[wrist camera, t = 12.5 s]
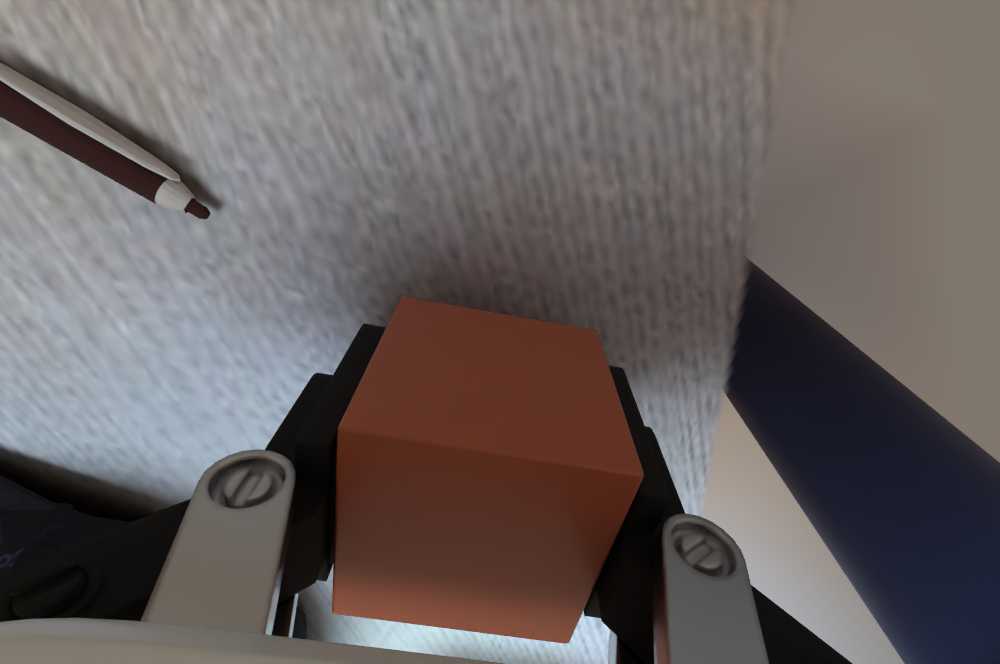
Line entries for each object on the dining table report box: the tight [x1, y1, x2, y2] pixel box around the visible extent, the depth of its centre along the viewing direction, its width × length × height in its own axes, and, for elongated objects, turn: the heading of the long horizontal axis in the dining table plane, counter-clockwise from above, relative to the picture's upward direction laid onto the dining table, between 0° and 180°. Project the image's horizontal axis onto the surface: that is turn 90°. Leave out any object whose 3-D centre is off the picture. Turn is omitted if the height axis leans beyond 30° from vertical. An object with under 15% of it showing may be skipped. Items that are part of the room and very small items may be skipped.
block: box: [332, 296, 644, 643], centre depth 10 cm, size 4×4×4 cm
